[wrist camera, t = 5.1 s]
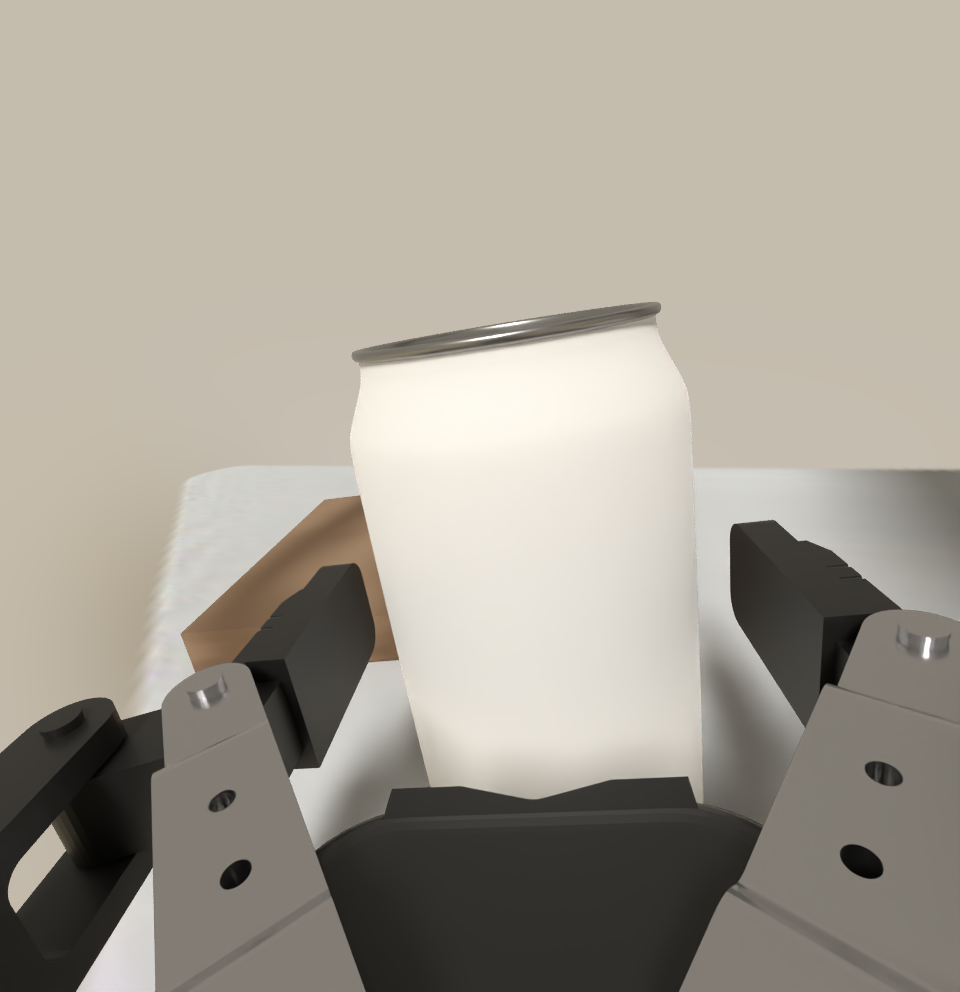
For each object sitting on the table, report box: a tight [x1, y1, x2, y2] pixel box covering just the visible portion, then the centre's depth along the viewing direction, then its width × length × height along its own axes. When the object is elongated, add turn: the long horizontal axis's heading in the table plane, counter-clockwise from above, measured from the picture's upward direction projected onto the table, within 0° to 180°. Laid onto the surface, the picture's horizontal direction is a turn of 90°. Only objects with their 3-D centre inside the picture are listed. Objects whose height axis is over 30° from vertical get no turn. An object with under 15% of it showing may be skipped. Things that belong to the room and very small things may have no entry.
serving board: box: [181, 496, 399, 673], centre depth 28 cm, size 20×16×2 cm
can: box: [350, 302, 703, 804], centre depth 12 cm, size 6×6×12 cm
